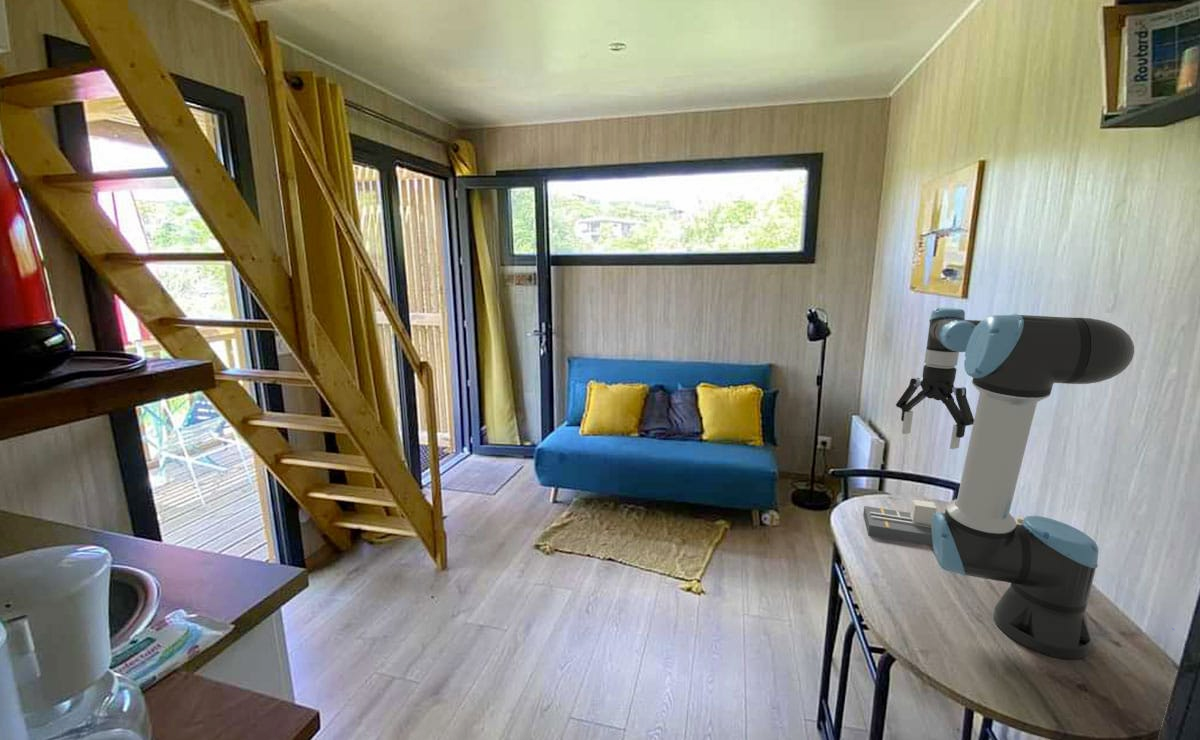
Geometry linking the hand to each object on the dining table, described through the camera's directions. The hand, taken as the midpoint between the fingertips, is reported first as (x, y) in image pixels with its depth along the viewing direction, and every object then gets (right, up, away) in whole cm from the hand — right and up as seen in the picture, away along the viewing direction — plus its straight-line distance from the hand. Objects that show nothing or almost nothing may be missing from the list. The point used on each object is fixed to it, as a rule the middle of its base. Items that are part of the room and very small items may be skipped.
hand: (929, 440), depth 147 cm
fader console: (-8, -25, 0) cm, 26 cm away
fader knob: (-4, -22, -2) cm, 23 cm away
